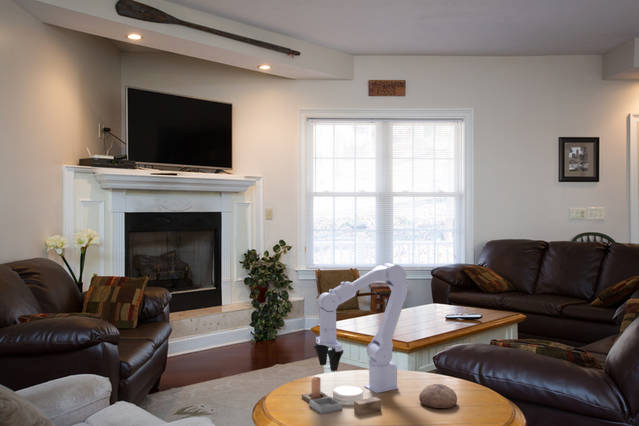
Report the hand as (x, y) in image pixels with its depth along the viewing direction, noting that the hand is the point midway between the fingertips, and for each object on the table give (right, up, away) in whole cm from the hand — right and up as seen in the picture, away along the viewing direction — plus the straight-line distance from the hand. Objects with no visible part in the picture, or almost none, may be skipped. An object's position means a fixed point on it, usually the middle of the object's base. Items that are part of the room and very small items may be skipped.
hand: (328, 367), depth 184 cm
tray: (-1, -9, -15) cm, 17 cm away
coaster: (+6, -9, -7) cm, 13 cm away
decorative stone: (+37, -10, -14) cm, 41 cm away
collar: (-4, -9, -7) cm, 12 cm away
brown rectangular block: (+12, -9, -18) cm, 23 cm away
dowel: (-4, -9, -7) cm, 12 cm away
